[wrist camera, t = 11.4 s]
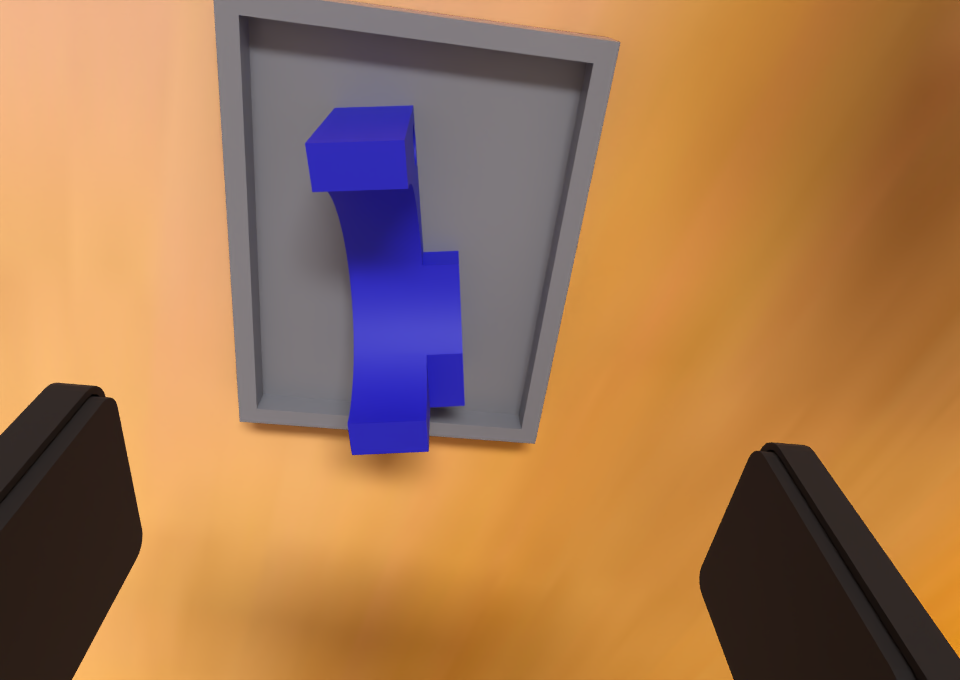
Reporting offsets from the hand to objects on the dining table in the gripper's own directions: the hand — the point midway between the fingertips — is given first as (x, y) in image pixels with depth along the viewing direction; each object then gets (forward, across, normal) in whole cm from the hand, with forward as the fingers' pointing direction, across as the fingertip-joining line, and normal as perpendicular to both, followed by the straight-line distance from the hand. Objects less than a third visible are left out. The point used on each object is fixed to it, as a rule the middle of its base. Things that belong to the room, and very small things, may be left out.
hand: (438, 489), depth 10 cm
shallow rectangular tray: (+19, +2, +4) cm, 20 cm away
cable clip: (+19, +2, +4) cm, 19 cm away
